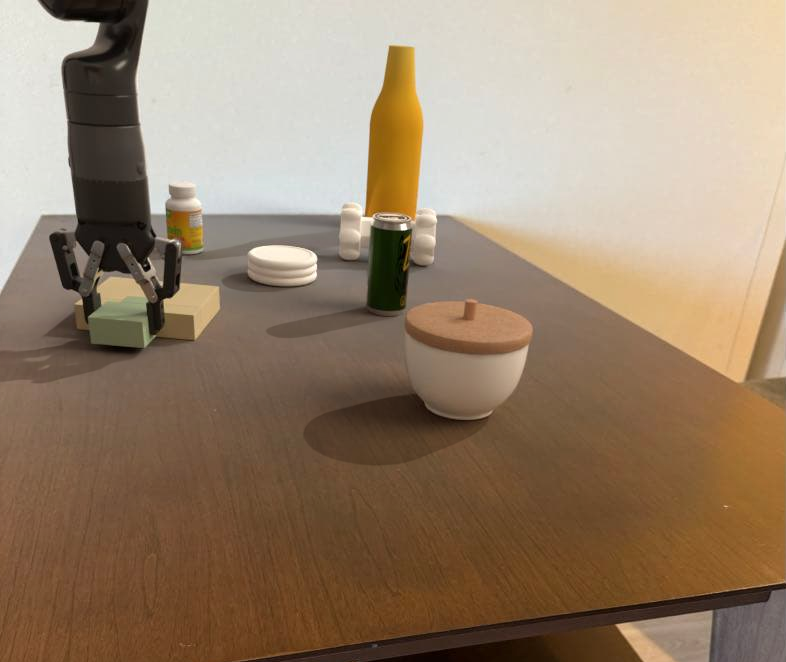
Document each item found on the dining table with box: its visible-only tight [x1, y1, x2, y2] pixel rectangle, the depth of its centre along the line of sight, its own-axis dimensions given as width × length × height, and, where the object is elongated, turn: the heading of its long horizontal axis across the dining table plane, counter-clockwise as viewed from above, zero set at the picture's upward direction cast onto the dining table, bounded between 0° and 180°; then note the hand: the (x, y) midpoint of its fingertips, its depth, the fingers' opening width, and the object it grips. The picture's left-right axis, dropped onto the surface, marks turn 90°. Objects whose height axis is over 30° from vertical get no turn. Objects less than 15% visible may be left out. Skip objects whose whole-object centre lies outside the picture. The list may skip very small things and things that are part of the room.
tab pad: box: [88, 296, 161, 349], centre depth 96 cm, size 8×6×3 cm
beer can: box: [365, 213, 412, 317], centre depth 111 cm, size 5×5×12 cm
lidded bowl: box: [403, 298, 534, 421], centre depth 86 cm, size 13×13×11 cm
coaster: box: [246, 244, 318, 287], centre depth 123 cm, size 10×10×4 cm
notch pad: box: [73, 276, 221, 341], centre depth 104 cm, size 14×12×3 cm
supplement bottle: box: [164, 181, 204, 256], centre depth 130 cm, size 5×5×10 cm
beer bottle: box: [364, 44, 424, 221], centre depth 146 cm, size 9×9×29 cm
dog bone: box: [338, 202, 438, 267], centre depth 134 cm, size 15×9×8 cm, turn 90°
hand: (125, 329), depth 96 cm, fingers closed on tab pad, 6 cm apart
